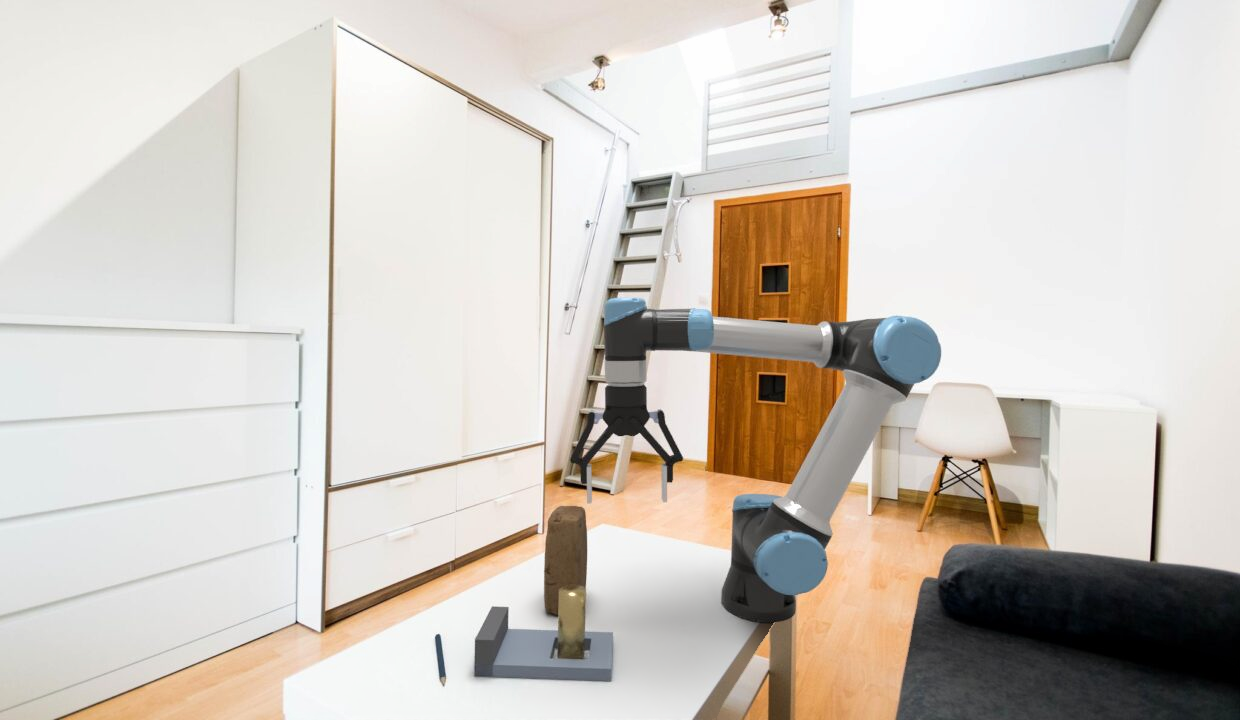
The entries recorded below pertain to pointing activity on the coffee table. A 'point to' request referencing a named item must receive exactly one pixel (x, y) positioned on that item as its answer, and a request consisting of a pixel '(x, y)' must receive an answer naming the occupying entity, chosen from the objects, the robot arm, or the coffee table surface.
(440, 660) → the pencil
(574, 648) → the brass cylinder rod
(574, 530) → the block
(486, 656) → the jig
